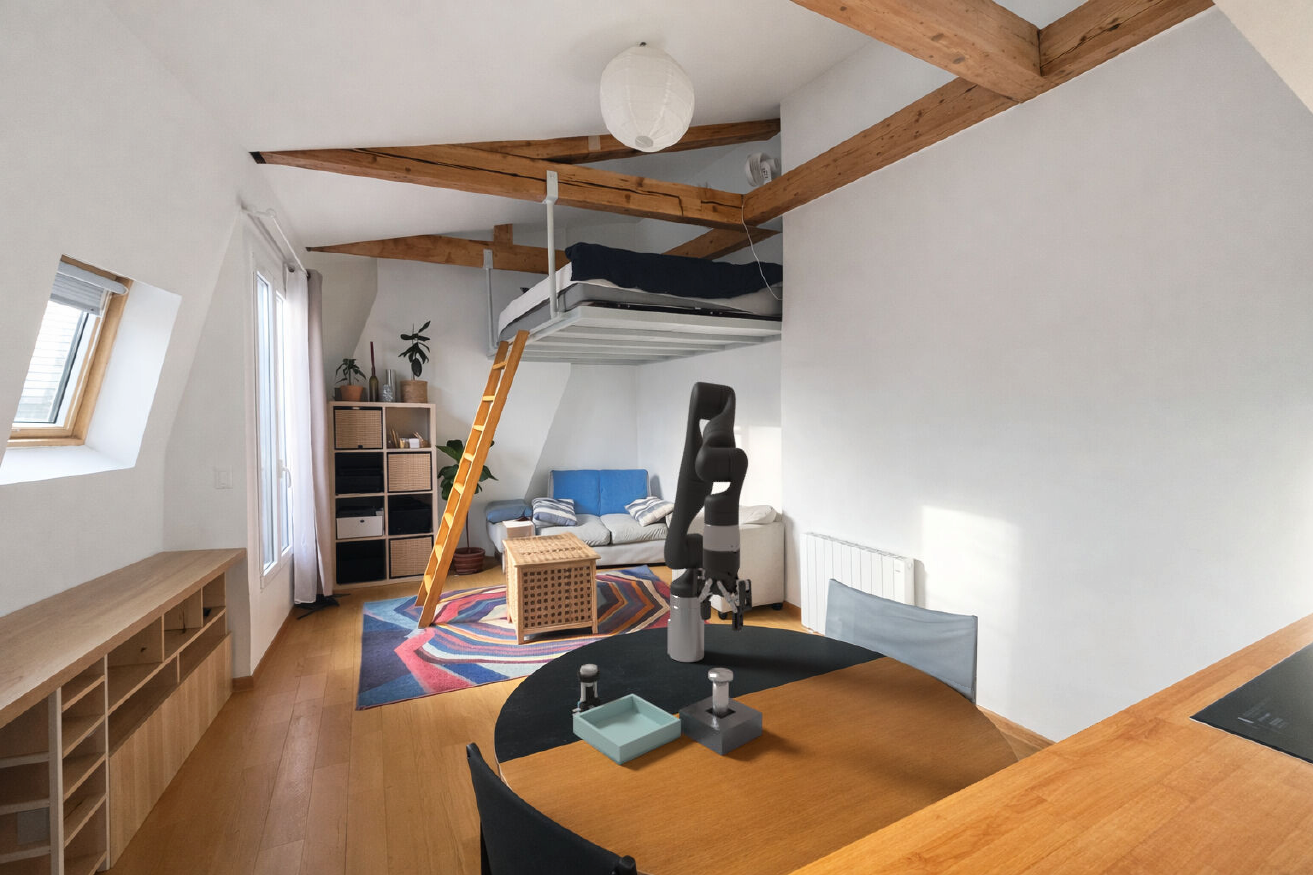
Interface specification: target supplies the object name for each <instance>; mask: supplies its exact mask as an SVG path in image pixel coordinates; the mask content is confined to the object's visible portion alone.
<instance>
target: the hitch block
mask: <svg viewBox="0 0 1313 875" xmlns="http://www.w3.org/2000/svg"><path fill="white" fill-rule="evenodd" d="M678 719H680V720H681V734H683V735H684V736H687V737H688V738H690V739H692V740H694V741H695V742H697V743H699V744H700V745H702V746H704V747H706V748H707V749H709V750H711V751H713V752H715V753H716V754H719V756H724V755H726V754H728V753H730V752H732V751H734V750H736V749H737V748H739V747H742V746H743V745H745V744H747V743H749V742H751V741H753V740H755V739H757V738H759V737H760V736H762V735H763V712H761V711H759V710H757V709H755V708H752V707H751V706H749V705H747V704H744V703H742V702H740V701H738V700H735V699H734V698H731V697H730V696H728V716H727V717H725V718H722V719H720V718H718V717H716V716H714V715H713V695H711V696H709V697H707V698H704V699H702V700H699V701H697V702H694V703H692V704H690V705H687V706H684V707H683V708H681V709H679V710H678Z"/></svg>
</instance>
